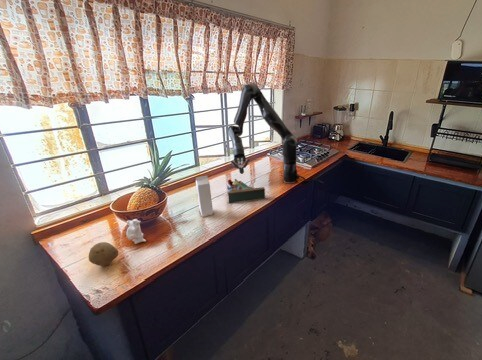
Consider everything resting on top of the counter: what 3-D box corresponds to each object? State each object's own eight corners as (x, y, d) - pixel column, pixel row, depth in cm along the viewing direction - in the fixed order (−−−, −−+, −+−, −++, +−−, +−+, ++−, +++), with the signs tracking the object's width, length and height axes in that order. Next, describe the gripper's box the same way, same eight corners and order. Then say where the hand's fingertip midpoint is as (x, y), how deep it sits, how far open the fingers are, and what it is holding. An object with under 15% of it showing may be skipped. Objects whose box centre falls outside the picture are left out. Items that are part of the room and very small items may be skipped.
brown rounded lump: (86, 268, 96) (78, 248, 92) (109, 254, 104) (102, 234, 100) (102, 274, 93) (94, 253, 89) (124, 259, 101) (118, 239, 97)
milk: (213, 214, 135) (209, 177, 126) (202, 217, 132) (196, 179, 123) (210, 209, 140) (206, 173, 131) (199, 212, 137) (194, 175, 128)
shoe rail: (264, 196, 155) (263, 187, 152) (265, 198, 153) (264, 188, 150) (228, 201, 149) (227, 191, 146) (229, 203, 147) (228, 193, 144)
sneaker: (255, 199, 151) (254, 185, 147) (224, 194, 157) (223, 180, 153) (260, 194, 158) (259, 180, 154) (230, 190, 164) (229, 176, 160)
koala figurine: (151, 239, 114) (145, 217, 109) (137, 247, 108) (131, 224, 103) (139, 234, 117) (133, 212, 112) (125, 242, 111) (118, 219, 107)
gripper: (228, 148, 165) (232, 172, 159) (248, 147, 168) (252, 170, 163) (228, 154, 172) (231, 176, 166) (247, 152, 175) (251, 174, 169)
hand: (242, 173), depth 164 cm, fingers closed
